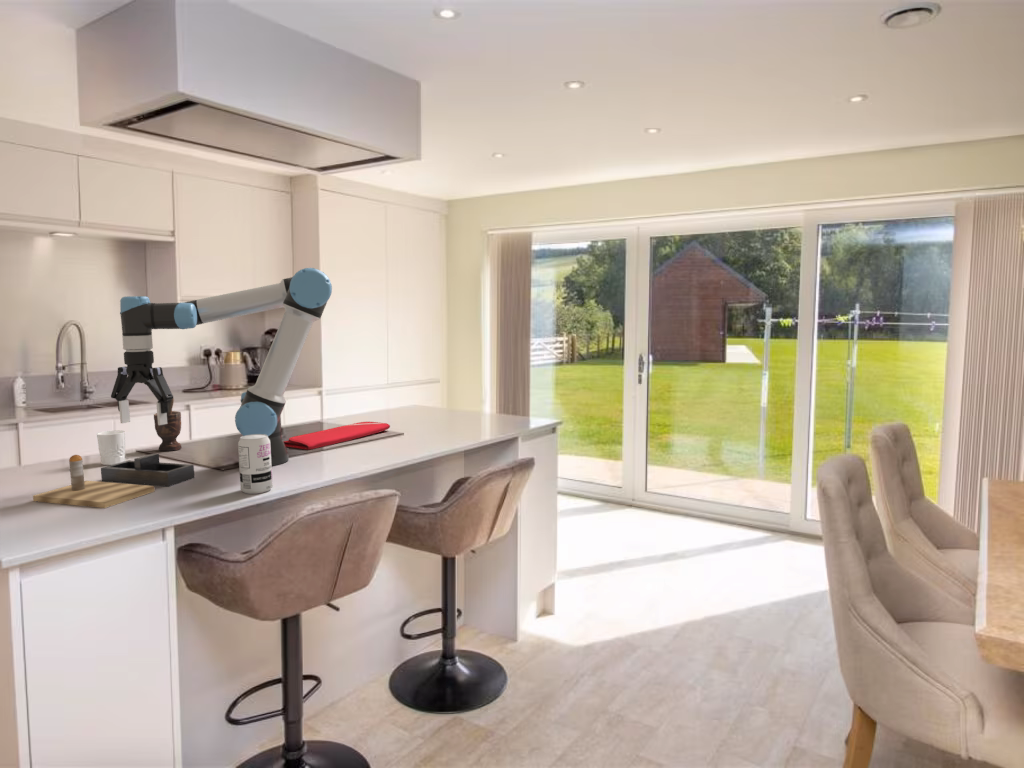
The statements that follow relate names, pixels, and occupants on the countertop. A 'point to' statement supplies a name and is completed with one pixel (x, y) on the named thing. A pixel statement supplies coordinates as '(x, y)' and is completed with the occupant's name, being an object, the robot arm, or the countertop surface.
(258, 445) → the supplement can
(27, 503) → the countertop surface
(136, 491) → the board
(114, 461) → the white cup
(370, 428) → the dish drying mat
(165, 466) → the dark grey tray
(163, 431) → the mortar and pestle
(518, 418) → the countertop surface
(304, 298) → the robot arm
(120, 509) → the countertop surface
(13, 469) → the countertop surface
